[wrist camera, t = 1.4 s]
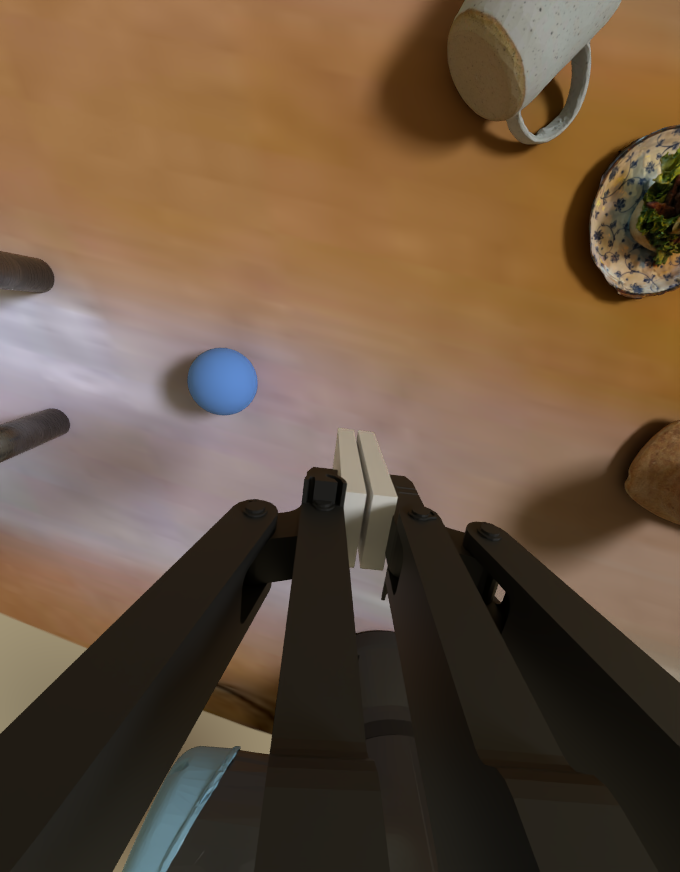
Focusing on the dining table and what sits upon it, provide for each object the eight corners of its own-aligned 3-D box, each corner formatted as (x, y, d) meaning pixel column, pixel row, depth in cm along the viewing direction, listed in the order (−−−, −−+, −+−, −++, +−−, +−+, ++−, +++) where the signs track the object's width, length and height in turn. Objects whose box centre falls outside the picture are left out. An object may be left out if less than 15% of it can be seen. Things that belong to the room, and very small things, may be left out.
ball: (260, 409, 33) (247, 427, 28) (200, 402, 33) (176, 418, 28) (264, 349, 32) (251, 356, 27) (201, 341, 31) (175, 346, 26)
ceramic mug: (426, 67, 26) (463, -23, 19) (511, -43, 24) (586, -187, 17) (514, 180, 28) (576, 138, 21) (597, 88, 27) (694, 9, 20)
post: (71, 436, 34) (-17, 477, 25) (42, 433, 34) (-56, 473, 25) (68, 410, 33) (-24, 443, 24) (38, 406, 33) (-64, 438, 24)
